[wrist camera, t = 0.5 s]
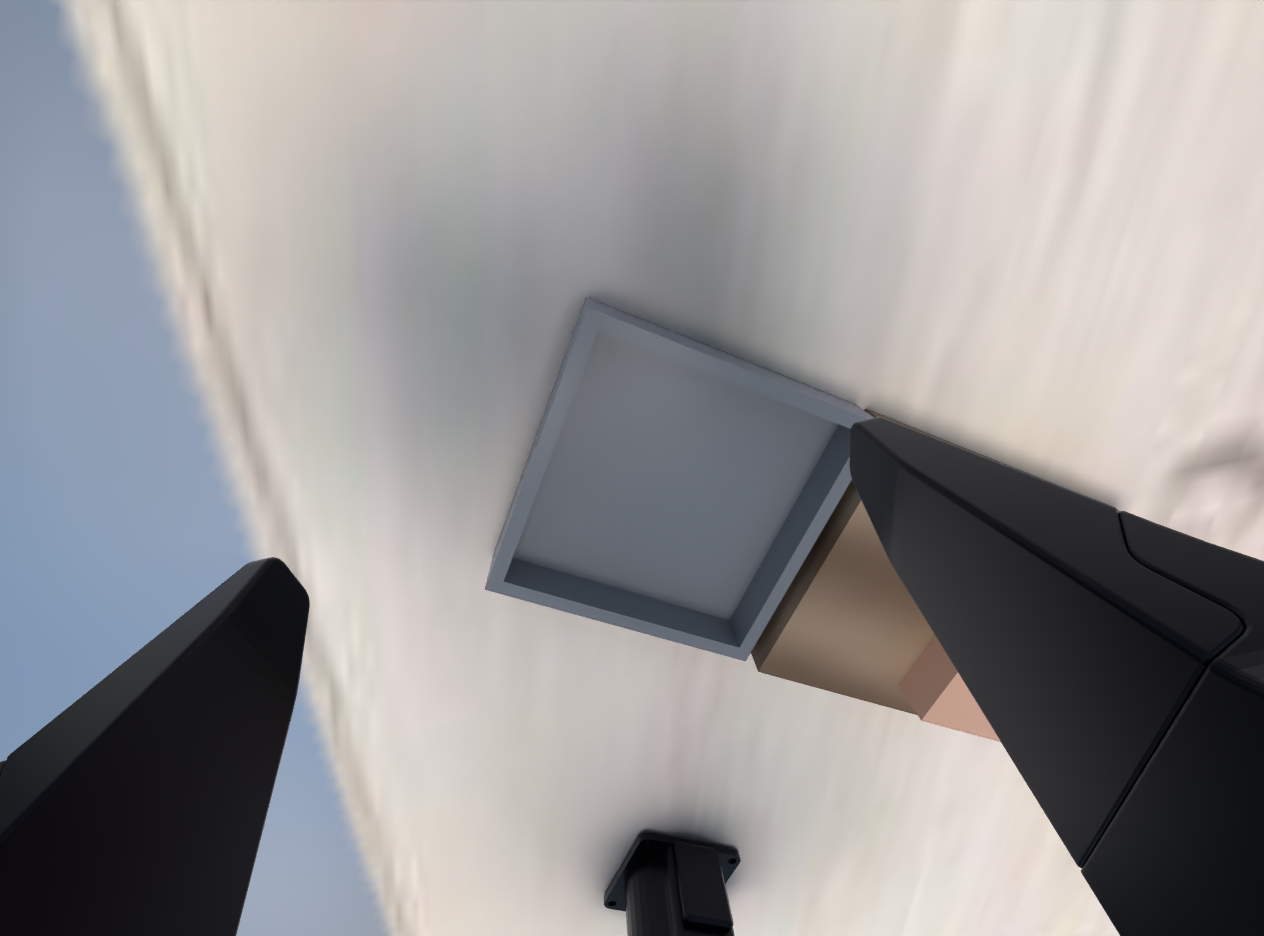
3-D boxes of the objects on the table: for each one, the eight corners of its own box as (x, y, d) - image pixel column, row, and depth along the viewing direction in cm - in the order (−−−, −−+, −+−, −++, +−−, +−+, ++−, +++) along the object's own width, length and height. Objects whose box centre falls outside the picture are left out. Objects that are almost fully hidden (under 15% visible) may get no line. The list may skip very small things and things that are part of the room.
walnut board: (970, 694, 32) (1006, 739, 30) (741, 628, 29) (758, 671, 27) (1115, 508, 28) (1172, 540, 25) (866, 408, 25) (901, 433, 22)
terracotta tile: (976, 708, 29) (1003, 742, 27) (898, 686, 28) (921, 720, 26) (1033, 636, 27) (1066, 667, 25) (953, 610, 26) (981, 640, 24)
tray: (732, 625, 29) (745, 661, 27) (492, 556, 27) (484, 589, 24) (856, 404, 25) (883, 424, 23) (586, 297, 22) (587, 307, 20)
